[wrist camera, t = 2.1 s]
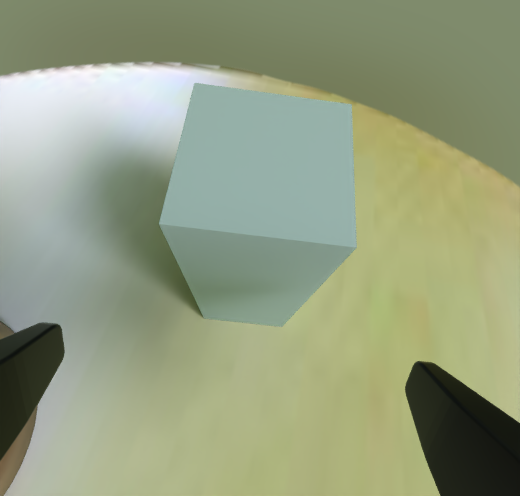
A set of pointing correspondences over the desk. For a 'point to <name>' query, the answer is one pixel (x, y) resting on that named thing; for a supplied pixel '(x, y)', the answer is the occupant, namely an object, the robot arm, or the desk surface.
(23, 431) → the walnut stand
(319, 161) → the pale green tall block
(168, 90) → the desk surface
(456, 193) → the desk surface
